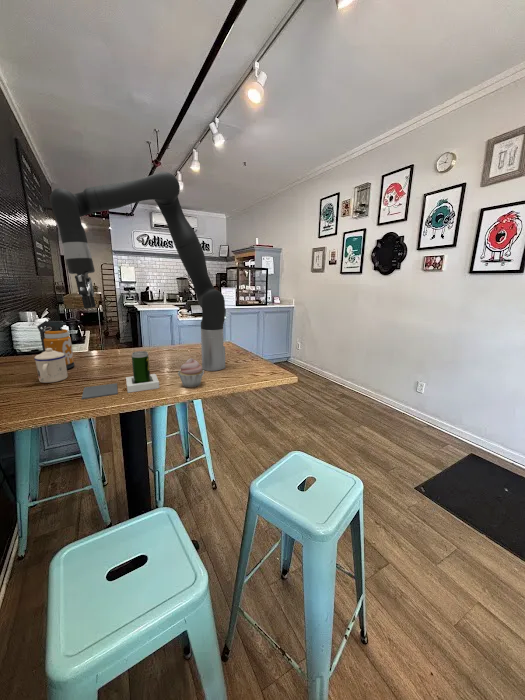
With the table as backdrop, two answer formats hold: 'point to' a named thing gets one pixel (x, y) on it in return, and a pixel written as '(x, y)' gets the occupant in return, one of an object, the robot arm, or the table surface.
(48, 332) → the canister
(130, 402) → the table surface
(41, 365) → the teacup with lid
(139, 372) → the beer can
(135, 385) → the collar
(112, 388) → the mat
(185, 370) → the cupcake
